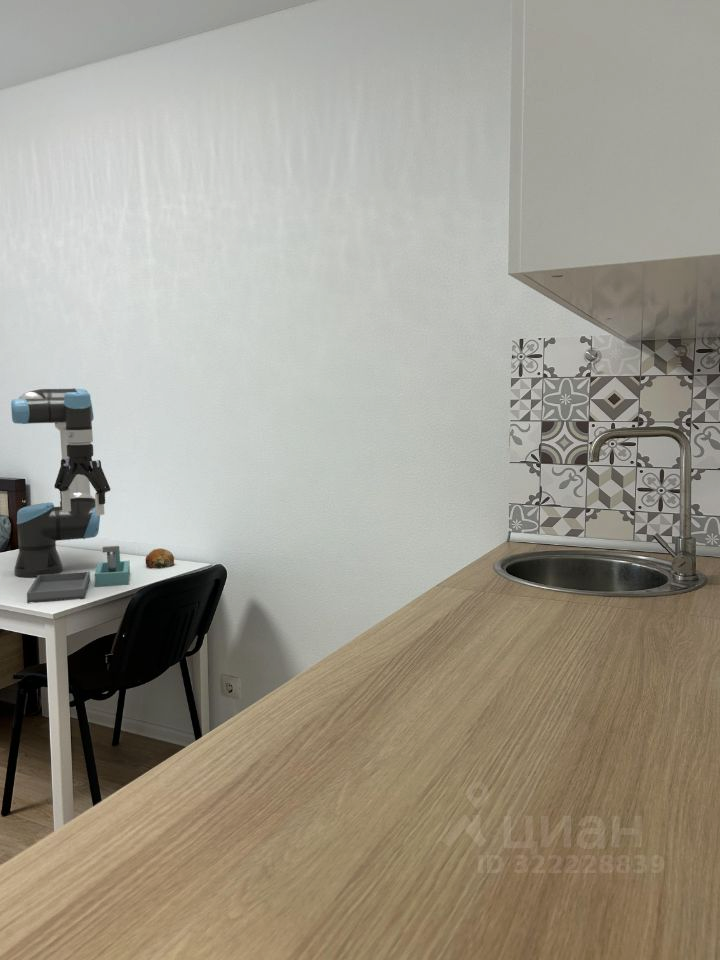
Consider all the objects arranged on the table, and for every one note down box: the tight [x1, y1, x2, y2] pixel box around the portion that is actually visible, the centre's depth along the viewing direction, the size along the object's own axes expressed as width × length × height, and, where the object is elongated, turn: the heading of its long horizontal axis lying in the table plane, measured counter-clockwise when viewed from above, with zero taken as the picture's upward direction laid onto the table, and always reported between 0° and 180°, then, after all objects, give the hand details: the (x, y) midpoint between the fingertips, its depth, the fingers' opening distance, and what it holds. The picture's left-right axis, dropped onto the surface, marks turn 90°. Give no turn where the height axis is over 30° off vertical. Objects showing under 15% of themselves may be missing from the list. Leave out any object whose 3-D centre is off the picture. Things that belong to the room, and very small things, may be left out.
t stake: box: [102, 545, 120, 572], centre depth 248 cm, size 2×5×12 cm, turn 105°
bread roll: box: [145, 548, 175, 569], centre depth 272 cm, size 10×10×8 cm
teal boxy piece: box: [94, 549, 131, 588], centre depth 252 cm, size 18×10×9 cm, turn 15°
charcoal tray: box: [26, 571, 91, 603], centre depth 237 cm, size 24×16×3 cm, turn 15°
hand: (83, 513), depth 234 cm, fingers open, 13 cm apart
